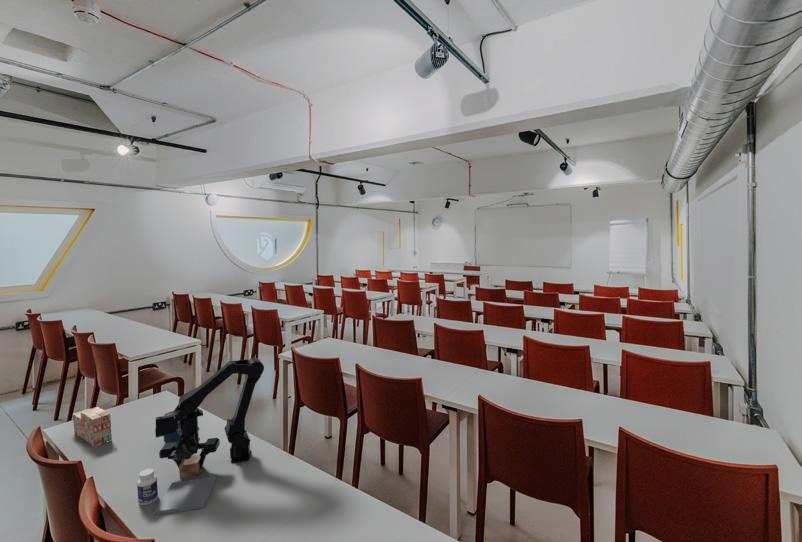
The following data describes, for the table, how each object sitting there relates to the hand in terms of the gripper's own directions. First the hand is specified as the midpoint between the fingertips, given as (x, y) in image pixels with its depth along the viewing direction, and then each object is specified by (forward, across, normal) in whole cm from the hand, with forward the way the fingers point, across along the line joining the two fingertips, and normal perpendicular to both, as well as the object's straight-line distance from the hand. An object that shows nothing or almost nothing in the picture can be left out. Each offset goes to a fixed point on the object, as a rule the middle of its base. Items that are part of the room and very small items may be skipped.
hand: (191, 469), depth 137 cm
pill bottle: (+1, -9, -13) cm, 16 cm away
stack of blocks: (+1, -51, +36) cm, 63 cm away
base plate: (+1, +3, -14) cm, 14 cm away
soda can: (+1, -15, +25) cm, 29 cm away
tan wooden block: (+1, 0, 0) cm, 1 cm away
